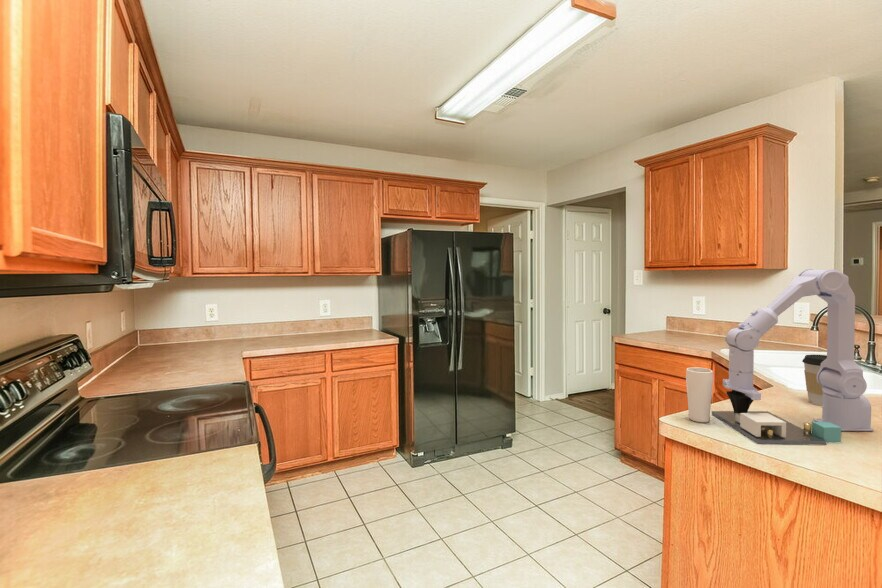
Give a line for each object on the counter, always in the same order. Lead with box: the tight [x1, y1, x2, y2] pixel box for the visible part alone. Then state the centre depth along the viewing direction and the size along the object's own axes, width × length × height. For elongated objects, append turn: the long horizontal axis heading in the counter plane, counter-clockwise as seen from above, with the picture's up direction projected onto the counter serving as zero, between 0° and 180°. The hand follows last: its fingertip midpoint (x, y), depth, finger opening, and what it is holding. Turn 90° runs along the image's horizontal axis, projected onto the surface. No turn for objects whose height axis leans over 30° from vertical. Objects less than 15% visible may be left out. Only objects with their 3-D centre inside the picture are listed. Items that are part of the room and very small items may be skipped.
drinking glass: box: [685, 366, 714, 424], centre depth 125 cm, size 7×7×15 cm
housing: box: [735, 413, 786, 437], centre depth 115 cm, size 7×12×4 cm, turn 174°
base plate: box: [711, 410, 827, 445], centre depth 118 cm, size 16×22×4 cm
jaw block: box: [811, 421, 842, 443], centre depth 109 cm, size 4×4×4 cm
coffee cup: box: [801, 354, 827, 407], centre depth 136 cm, size 10×10×15 cm
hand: (740, 417), depth 122 cm, fingers closed
